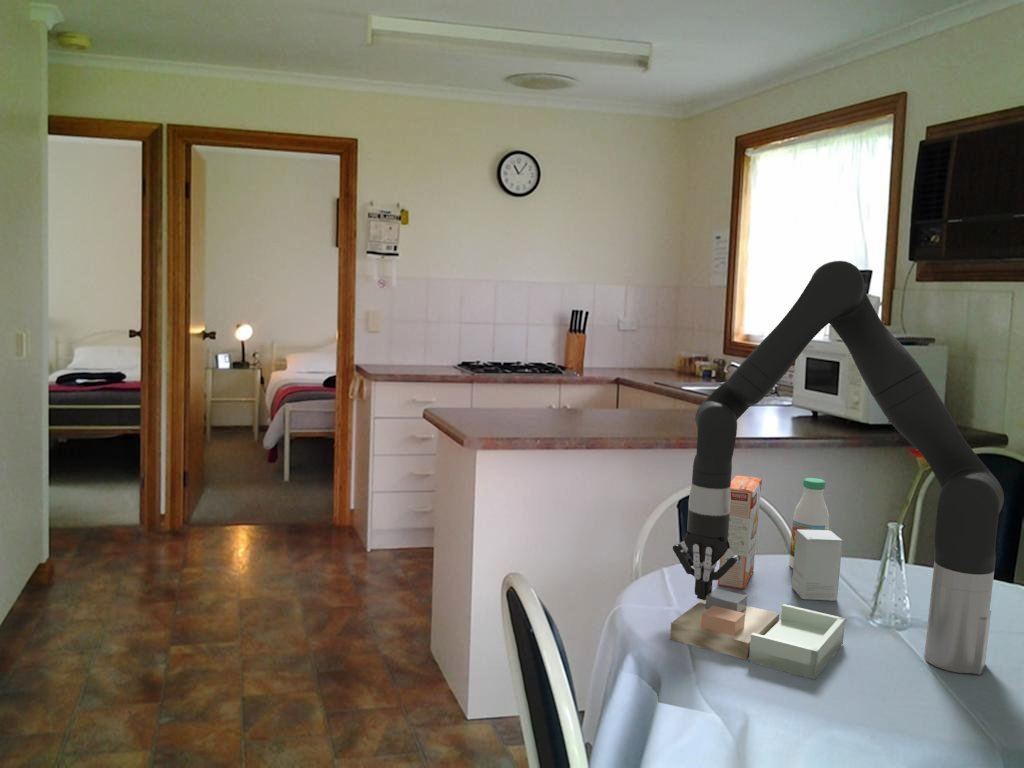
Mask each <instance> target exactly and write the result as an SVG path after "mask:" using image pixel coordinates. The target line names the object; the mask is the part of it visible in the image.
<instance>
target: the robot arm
mask: <svg viewBox="0 0 1024 768" xmlns="http://www.w3.org/2000/svg"><path fill="white" fill-rule="evenodd" d="M828 324H829V325H830V326H831V327H832V329H833V330H834V331H835V333H836V334H837V335H838V337H840V339H841V340H842V342H843V343H844V344H845V346H846V348H847V350H848V351H849V354H850V355H851V357H852V359H853V362H854V364H855V365H856V368H857V370H858V372H859V374H860V376H861V378H862V379H863V382H864V384H865V385H866V386H867V390H868V391H869V392H870V394H871V396H872V397H873V399H874V401H875V402H876V403H877V405H878V407H879V408H880V409H881V411H882V412H883V415H884V416H885V417H886V418H887V420H888V421H889V422H890V424H891V425H892V426H893V427H894V428H895V430H897V432H898V433H900V435H902V437H904V438H905V440H906V441H908V442H909V443H910V444H911V445H912V446H913V447H914V449H916V450H917V451H918V452H919V453H920V455H921V456H922V457H923V459H925V462H926V463H927V464H928V466H929V467H930V469H931V470H932V473H933V474H934V476H935V478H936V480H937V482H938V484H939V485H940V488H941V489H940V491H939V495H938V499H937V507H936V519H935V527H934V528H935V529H934V530H935V531H934V542H933V543H934V561H933V562H934V564H933V571H932V580H931V581H932V582H931V591H930V600H929V608H928V618H927V630H926V639H925V644H924V659H925V660H926V661H927V662H928V664H929V663H930V664H931V665H933V666H934V667H937V668H939V669H942V670H945V671H948V672H953V673H959V674H973V675H979V676H980V675H982V673H983V669H984V668H985V664H986V660H987V659H986V658H987V650H988V641H989V633H990V626H991V615H992V611H991V605H992V604H991V603H992V593H993V584H994V578H995V577H994V575H995V568H996V560H997V557H996V544H997V536H998V535H997V533H998V526H999V516H1000V513H1001V511H1002V509H1003V506H1004V502H1005V496H1004V490H1003V488H1002V485H1001V484H1000V482H999V480H998V479H997V478H996V476H994V474H993V473H992V472H991V471H990V469H989V468H988V467H987V466H986V464H985V463H984V462H983V461H982V460H981V459H980V458H979V456H978V455H977V454H976V452H975V451H974V450H973V448H971V446H970V444H968V442H967V441H966V440H965V438H964V437H963V435H962V433H961V432H960V430H959V428H958V426H957V424H956V423H955V420H954V419H953V417H952V416H951V414H950V412H949V410H948V409H947V406H946V405H945V403H944V402H943V399H942V398H941V397H940V396H939V393H938V392H937V391H936V388H935V387H934V386H933V384H932V382H931V381H930V379H929V378H928V376H927V375H926V373H925V372H924V370H923V368H922V367H921V366H920V364H919V363H918V362H917V360H916V359H915V358H914V357H913V356H912V354H911V353H910V352H909V351H908V349H906V348H905V347H904V345H903V344H902V343H901V342H900V341H899V340H898V339H897V338H896V337H895V336H894V334H892V333H891V332H890V331H889V329H888V328H887V327H886V326H885V324H884V322H883V321H882V320H881V318H880V316H879V315H878V313H877V311H876V310H875V308H874V305H873V304H872V302H871V300H870V298H869V296H868V294H867V292H866V289H865V281H864V276H863V274H862V272H861V271H860V269H859V268H858V267H857V266H856V265H855V264H853V263H852V262H849V261H846V260H842V259H841V260H838V259H837V260H831V261H828V262H825V263H824V264H822V265H820V266H819V267H818V268H817V269H816V270H815V271H814V273H813V274H812V276H811V278H810V280H809V281H808V283H807V285H806V286H805V288H804V289H803V291H802V292H801V294H800V295H799V297H798V298H797V300H796V301H795V303H794V304H793V306H792V307H791V308H790V310H789V311H788V312H786V314H785V316H784V317H783V318H782V319H781V320H780V322H779V323H777V325H775V328H773V330H772V331H770V332H769V334H768V335H767V336H766V337H765V338H764V339H763V340H762V341H761V342H760V343H759V344H758V345H757V346H756V347H755V348H754V350H752V351H751V352H750V354H748V355H747V356H746V358H744V360H743V361H742V362H741V364H740V365H739V366H738V367H737V368H736V369H735V370H734V371H733V372H732V373H731V375H730V376H729V377H728V379H726V381H724V382H723V383H722V384H721V385H720V386H719V387H717V388H716V389H715V390H714V391H713V392H712V393H711V394H710V395H709V396H707V398H706V399H704V401H703V402H702V403H701V404H700V406H699V407H698V408H697V410H696V412H695V420H694V421H695V425H696V427H697V435H696V436H697V437H696V440H697V441H696V455H695V456H694V459H693V464H692V474H691V475H692V477H691V478H692V479H691V484H690V485H691V487H690V491H689V498H688V500H687V501H688V502H687V503H688V504H687V505H688V511H687V513H688V514H687V525H686V527H687V528H686V531H687V532H686V534H685V536H684V538H683V541H680V542H678V543H676V544H674V545H673V546H672V551H673V552H674V554H675V556H676V557H677V559H678V561H679V563H680V564H681V567H682V568H683V569H684V571H685V573H686V574H687V575H692V577H694V580H695V581H694V582H695V583H694V594H695V596H696V599H699V600H706V596H707V595H708V594H710V593H711V592H712V591H713V581H718V579H719V578H721V577H722V576H723V575H724V574H725V573H726V572H728V571H729V570H730V569H731V568H732V567H733V566H734V565H735V564H736V563H737V562H738V561H739V560H740V556H739V555H737V554H736V555H735V554H734V553H733V552H732V551H731V550H730V549H729V548H730V544H729V542H728V530H729V518H730V505H731V490H730V488H731V487H730V486H731V482H732V470H733V464H732V462H733V455H734V451H735V445H736V440H737V433H738V432H737V431H738V419H739V418H740V417H741V416H743V414H744V413H745V412H746V411H748V410H749V408H750V407H751V406H754V405H757V404H758V403H759V402H761V401H762V400H763V399H764V398H765V397H766V396H767V394H768V393H770V392H771V391H772V389H773V388H774V387H775V386H776V385H777V384H778V383H779V382H780V381H781V379H782V378H783V377H784V376H785V375H786V374H787V372H789V369H790V368H791V367H792V366H793V365H794V363H795V362H796V361H797V359H798V357H799V356H800V355H801V353H802V352H804V350H805V349H806V347H807V346H808V345H809V344H810V342H811V341H812V340H813V339H814V338H815V337H816V336H817V335H818V334H819V333H820V332H821V331H822V330H823V329H824V328H825V327H826V326H828ZM724 554H725V558H724V561H725V564H724V565H723V566H722V567H721V568H720V569H719V568H718V569H717V570H716V567H717V564H718V561H720V558H721V557H722V556H723V555H724ZM692 558H693V559H692Z"/></svg>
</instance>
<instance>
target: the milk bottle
mask: <svg viewBox="0 0 1024 768" xmlns="http://www.w3.org/2000/svg"><path fill="white" fill-rule="evenodd" d="M802 483H803V486H802V489H803V493H802V496H801V498H800V500H799V502H798V504H797V505H796V507H795V509H794V512H793V516H792V517H793V518H792V525H791V536H790V549H789V559H788V560H789V561H788V562H789V563H788V564H789V566H790V567H791V568H792V569H793V567H794V555H795V542H796V532H797V529H799V530H830V515H829V511H828V507H827V504H826V502H825V496H824V492H825V491H826V490H825V488H826V481H825V480H824V479H820V478H817V477H816V478H814V477H806V478H803V482H802Z"/></svg>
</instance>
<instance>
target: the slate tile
mask: <svg viewBox="0 0 1024 768" xmlns="http://www.w3.org/2000/svg"><path fill="white" fill-rule="evenodd" d="M711 606H717V607H721V608H725V609H730V610H734V611H738V612H743V611H744V610H746V607H747V606H748V595H745V594H741V593H737V592H733V591H729V590H724V589H720V588H715V589H713V590H712V592H711V593H710V594H708V595H707V596H706V606H705V609H709V608H710V607H711Z"/></svg>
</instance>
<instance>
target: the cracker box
mask: <svg viewBox="0 0 1024 768" xmlns="http://www.w3.org/2000/svg"><path fill="white" fill-rule="evenodd" d="M762 482H763V479H762V478H760V477H756V476H755V477H754V476H747V475H738V474H737V475H735V476H734V478H733V479H731V486H730V487H731V488H730V490H731V505H730V518H729V530H728V542H729V544H730V548H729V549H730V550H731V551H732V552H733V553H734V554H735V555H736V554H737V555H739V556H740V560H739V561H738V562H737V563H736V564H735V565H734V566H733V567H732V568H731V569H730V570H729V571H728V572H726V573H725V574H724V575H723V576H722V577H721V578H719V579H718V580H717V585H718V586H724V587H729V588H734V589H739V590H745V588H746V586H747V584H748V582H749V580H750V578H751V576H752V574H753V572H754V570H755V569H754V568H755V557H756V548H757V547H756V546H757V536H758V526H759V525H758V524H759V514H760V505H761V504H760V503H761V494H762ZM724 558H725V554H724V555H723V556H722V557H721V558H720V560H719V562H718V563H719V567H718V570H719V569H720V568H721V567H722V566H723V565H724V564H725V561H724Z"/></svg>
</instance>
